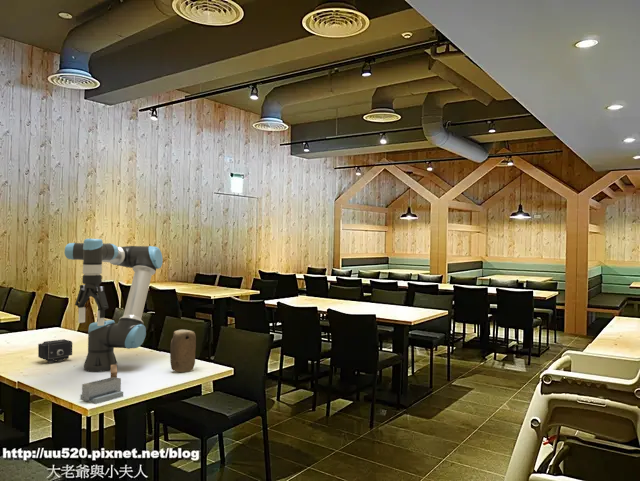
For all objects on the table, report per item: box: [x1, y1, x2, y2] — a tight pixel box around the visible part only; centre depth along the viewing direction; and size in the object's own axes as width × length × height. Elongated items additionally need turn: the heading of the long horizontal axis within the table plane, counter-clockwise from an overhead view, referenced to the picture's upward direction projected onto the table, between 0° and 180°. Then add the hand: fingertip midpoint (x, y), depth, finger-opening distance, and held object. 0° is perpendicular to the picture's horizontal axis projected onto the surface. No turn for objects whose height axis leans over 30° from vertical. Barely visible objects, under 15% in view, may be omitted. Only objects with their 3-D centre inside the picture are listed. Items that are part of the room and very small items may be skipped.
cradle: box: [79, 391, 124, 405], centre depth 200 cm, size 12×10×2 cm
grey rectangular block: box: [81, 376, 122, 401], centre depth 200 cm, size 14×4×6 cm, turn 148°
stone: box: [169, 329, 197, 373], centre depth 245 cm, size 12×7×20 cm, turn 137°
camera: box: [37, 339, 73, 364], centre depth 260 cm, size 11×11×15 cm
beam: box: [109, 363, 118, 378], centre depth 216 cm, size 2×15×8 cm, turn 22°
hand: (91, 324), depth 216 cm, fingers open, 13 cm apart
